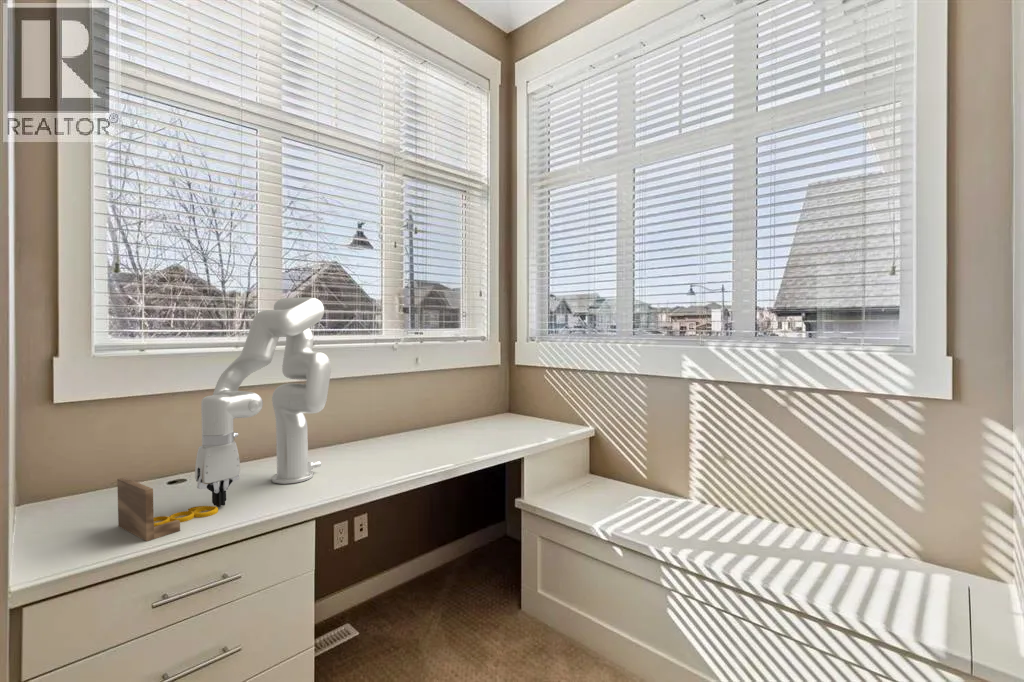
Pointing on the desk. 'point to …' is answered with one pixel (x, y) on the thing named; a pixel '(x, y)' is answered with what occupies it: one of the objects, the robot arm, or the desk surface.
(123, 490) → the display stand
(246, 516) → the desk surface
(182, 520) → the yellow triple ring ornament
